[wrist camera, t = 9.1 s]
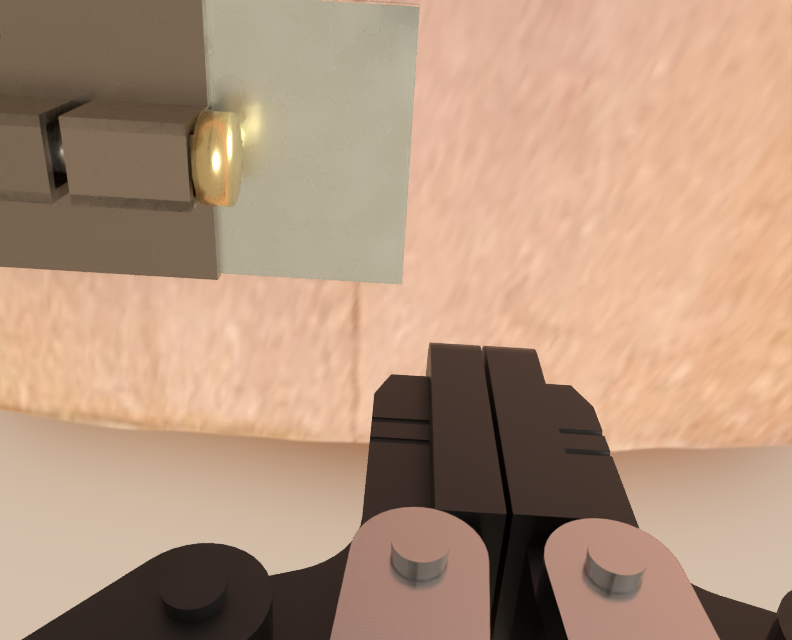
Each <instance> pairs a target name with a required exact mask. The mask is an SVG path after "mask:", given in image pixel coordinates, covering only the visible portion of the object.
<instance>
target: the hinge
mask: <svg viewBox="0 0 792 640" xmlns="http://www.w3.org/2000/svg"><path fill="white" fill-rule="evenodd" d="M419 8H420V5H417V4H401V3H385V2H368V1H352V0H0V267H16V268H32V269H49V270H65V271H81V272H98V273H114V274H130V275H146V276H163V277H179V278H195V279H212V280H218V278H219V277H220V275H221V273H224V274H241V275H257V276H273V277H290V278H306V279H322V280H339V281H355V282H371V283H387V284H402V275H403V259H404V243H405V228H406V212H407V196H408V180H409V165H410V149H411V133H412V118H413V102H414V86H415V71H416V55H417V39H418V24H419ZM204 110H205V111H221V112H234V113H235V114H236V115H237V117H238V120H239V123H240V128H241V134H242V145H243V168H242V180H241V187H240V192H239V196H238V199H237V202H236V204H235V205H234V206H233V207H223V206H207V205H202V204H201V203H200V202H199V200H198V198H197V195H196V191H195V187H194V181H193V180H192V169H191V155H190V140H189V135H194V130H195V126H196V122H197V119H198V117H199V115H200V113H201V112H202V111H204ZM46 126H56V127H60V131H61V138H62V145H63V152H64V158H65V165H66V172H67V173H64V172H53V170H52V163H51V157H50V150H49V144H48V137H47V131H46Z"/></svg>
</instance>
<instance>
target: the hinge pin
mask: <svg viewBox="0 0 792 640" xmlns="http://www.w3.org/2000/svg"><path fill="white" fill-rule="evenodd" d="M46 131H47V137H48V144H49V150H50V157H51V163H52V170H53V172H64V173H67V172H66V165H65V158H64V152H63V145H62V138H61V131H60V127H56V126H46ZM189 140H190V155H191V169H192V180H193V181H194V187H195V191H196V195H197V198H198V200H199V202H200V203H201V204H202V205H207V206H223V207H233V206H234V205H235V204H236V202H237V199H238V196H239V192H240V187H241V180H242V168H243V145H242V134H241V128H240V123H239V120H238V117H237V115H236V114H235V113H234V112H221V111H205V110H204V111H202V112H201V113H200V115H199V117H198V119H197V122H196V126H195V130H194V135H189Z"/></svg>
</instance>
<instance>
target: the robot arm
mask: <svg viewBox="0 0 792 640" xmlns="http://www.w3.org/2000/svg"><path fill="white" fill-rule="evenodd" d="M22 640H792V591H790V592H788V593H787V594H786V595H785V596H784V598H783V599H782V601H781V603H780V606H779V608H778V610H777V613H775V612H772V611H769V610H765V609H762V608H759V607H756V606H752V605H749V604H746V603H743V602H739V601H736V600H733V599H729V598H726V597H723V596H719V595H717V594H714V593H711V592H708V591H706V590H704V589H702V588H699V587H697V586H695V585H693V584H691V583H690V581H689V579H688V578H687V576H686V574H685V572H684V570H683V568H682V566H681V564H680V563H679V561H678V560H677V558H676V557H675V556H674V555H673V553H672V552H671V551H670V550H669V549H668V548H667V547H666V546H665V545H663V544H662V543H661V542H660V541H658V540H657V539H656V538H654V537H652V536H651V535H650V534H648V533H646V532H644V531H642V530H640V529H639V527H638V524H637V521H636V519H635V516H634V513H633V511H632V508H631V505H630V503H629V500H628V498H627V495H626V492H625V489H624V487H623V484H622V482H621V479H620V476H619V474H618V471H617V468H616V466H615V463H614V460H613V458H612V457H611V456H610V450H609V447H608V444H607V442H606V439H605V437H604V436H602V429H601V426H600V423H599V421H598V418H597V415H596V413H595V410H594V407H593V406H592V405H591V404H590V403H589V402H588V401H587V400H585V399H584V398H583V397H582V396H581V395H580V394H579V393H578V392H577V391H576V390H575V389H574V388H573V387H572V386H571V385H555V384H546V383H545V380H544V376H543V373H542V370H541V366H540V363H539V359H538V356H537V353H536V350H535V349H526V348H510V347H494V346H483V348H482V351H481V347H480V346H475V345H460V344H444V343H430V344H429V350H428V359H427V370H426V377H425V376H409V375H393V374H391V375H390V376H389V378H388V379H387V380H386V381H385V382H384V383H383V384H382V385H381V387H380V388H379V389H378V390H377V391H376V392H375V393H374V404H373V414H372V424H371V434H370V444H369V455H368V465H367V475H366V485H365V495H364V506H363V516H362V521H361V526H360V528H359V530H358V531H357V533H356V534H355V536H354V537H353V540H352V542H351V543H350V544H349V545H348V546H347V547H346V548H345V549H344V550H342V551H341V552H340V553H338V554H337V555H335V556H334V557H332V558H330V559H328V560H327V561H325V562H322V563H320V564H317V565H315V566H312V567H308V568H305V569H301V570H296V571H291V572H286V573H281V574H276V575H271V576H268V573H267V571H266V570H265V568H264V567H263V566H262V564H261V563H260V562H259V561H258V560H257V559H256V558H254V557H253V556H252V555H250V554H248V553H247V552H245V551H243V550H240V549H238V548H236V547H232V546H228V545H224V544H215V543H200V544H199V543H198V544H192V545H185V546H182V547H178V548H174V549H171V550H169V551H166V552H164V553H162V554H160V555H158V556H156V557H154V558H152V559H150V560H149V561H147V562H146V563H144V564H142V565H141V566H139V567H137V568H136V569H134V570H133V571H131V572H129V573H128V574H126V575H125V576H123V577H122V578H120V579H118V580H117V581H115V582H114V583H112V584H110V585H109V586H107V587H105V588H104V589H102V590H101V591H99V592H97V593H96V594H94V595H92V596H91V597H89V598H88V599H86V600H85V601H83V602H81V603H80V604H78V605H76V606H75V607H73V608H72V609H70V610H69V611H67V612H66V613H64V614H62V615H60V616H59V617H57V618H56V619H54V620H52V621H51V622H49V623H48V624H46V625H44V626H43V627H41V628H40V629H38V630H37V631H35V632H33V633H32V634H30V635H28V636H27V637H25V638H24V639H22Z"/></svg>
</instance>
